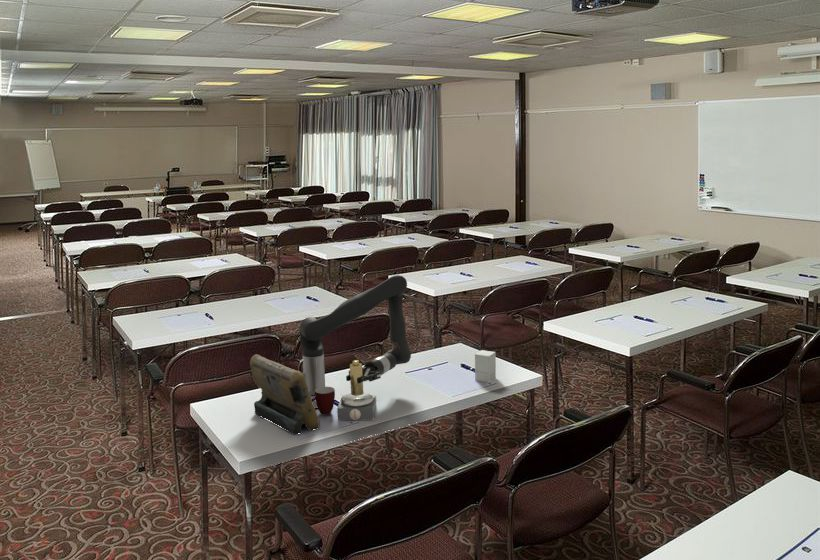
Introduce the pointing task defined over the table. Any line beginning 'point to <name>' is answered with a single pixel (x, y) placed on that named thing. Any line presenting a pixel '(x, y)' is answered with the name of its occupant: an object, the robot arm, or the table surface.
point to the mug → (324, 399)
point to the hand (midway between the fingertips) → (352, 379)
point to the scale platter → (357, 400)
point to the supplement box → (485, 366)
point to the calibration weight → (354, 375)
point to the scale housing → (357, 411)
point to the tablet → (283, 395)
